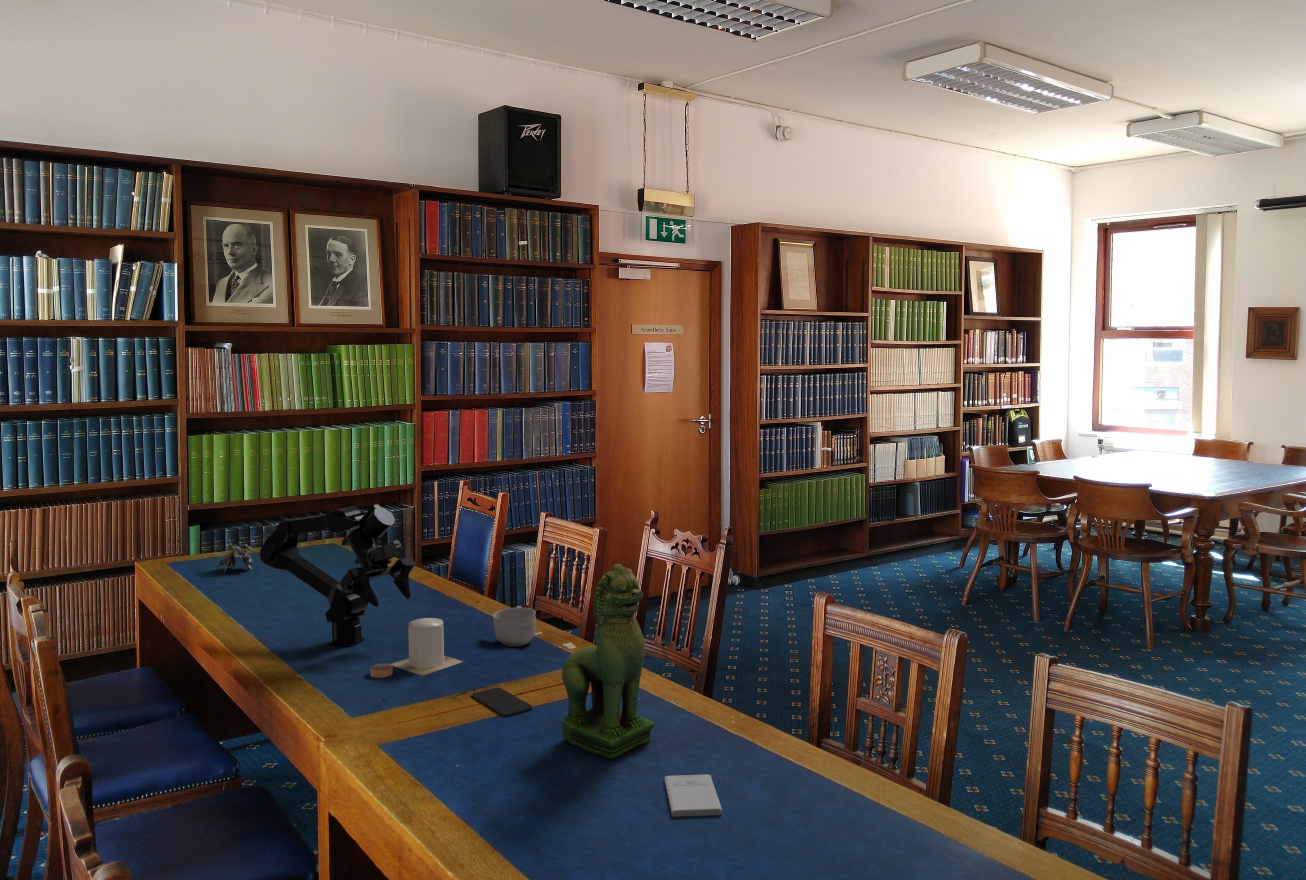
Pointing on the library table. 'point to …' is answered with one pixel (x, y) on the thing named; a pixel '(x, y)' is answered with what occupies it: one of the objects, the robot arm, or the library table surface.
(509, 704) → the phone
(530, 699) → the library table surface
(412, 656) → the white faceted jar
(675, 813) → the external hard drive
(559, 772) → the library table surface
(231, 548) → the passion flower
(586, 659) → the lion statue
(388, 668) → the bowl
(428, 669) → the cork pad
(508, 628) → the teacup
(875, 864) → the library table surface
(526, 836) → the library table surface
